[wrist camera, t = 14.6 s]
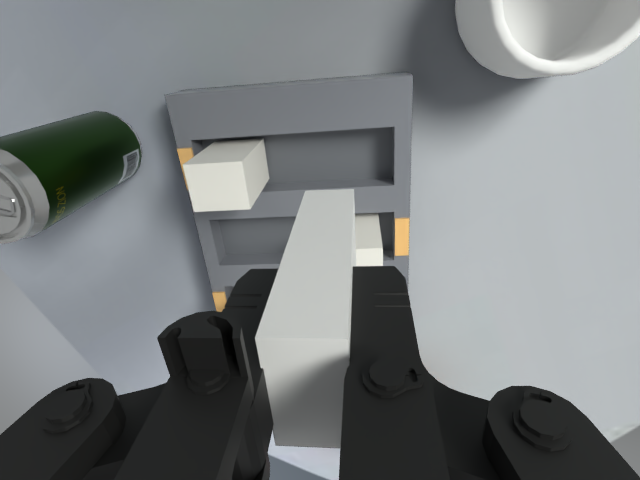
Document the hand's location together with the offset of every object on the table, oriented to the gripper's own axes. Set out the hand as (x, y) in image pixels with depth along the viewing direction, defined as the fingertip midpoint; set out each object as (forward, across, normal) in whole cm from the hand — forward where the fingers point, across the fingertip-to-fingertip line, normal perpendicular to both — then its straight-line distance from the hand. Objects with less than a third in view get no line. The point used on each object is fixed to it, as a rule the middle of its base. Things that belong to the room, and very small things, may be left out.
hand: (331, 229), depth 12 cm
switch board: (+18, -4, -8) cm, 20 cm away
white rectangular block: (+16, -8, -2) cm, 18 cm away
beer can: (+18, -18, -1) cm, 26 cm away
